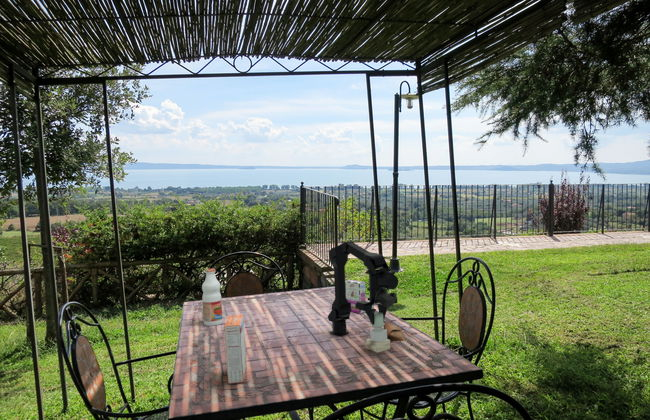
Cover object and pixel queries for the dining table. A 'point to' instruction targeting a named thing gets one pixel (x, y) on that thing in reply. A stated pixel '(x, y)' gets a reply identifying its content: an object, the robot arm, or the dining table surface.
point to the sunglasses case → (394, 332)
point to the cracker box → (235, 349)
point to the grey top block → (378, 335)
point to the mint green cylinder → (378, 319)
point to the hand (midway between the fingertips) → (377, 323)
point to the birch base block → (378, 345)
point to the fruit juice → (211, 299)
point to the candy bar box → (355, 294)
